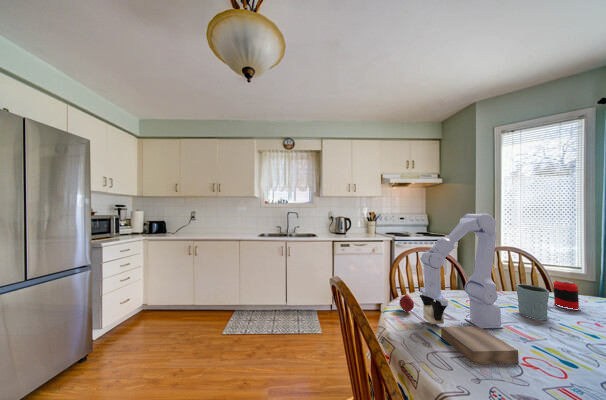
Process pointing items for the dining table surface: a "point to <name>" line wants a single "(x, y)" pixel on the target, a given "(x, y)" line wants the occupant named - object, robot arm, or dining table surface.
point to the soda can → (566, 294)
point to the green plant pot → (532, 301)
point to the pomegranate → (406, 303)
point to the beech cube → (431, 315)
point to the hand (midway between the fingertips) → (433, 316)
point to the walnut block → (479, 345)
